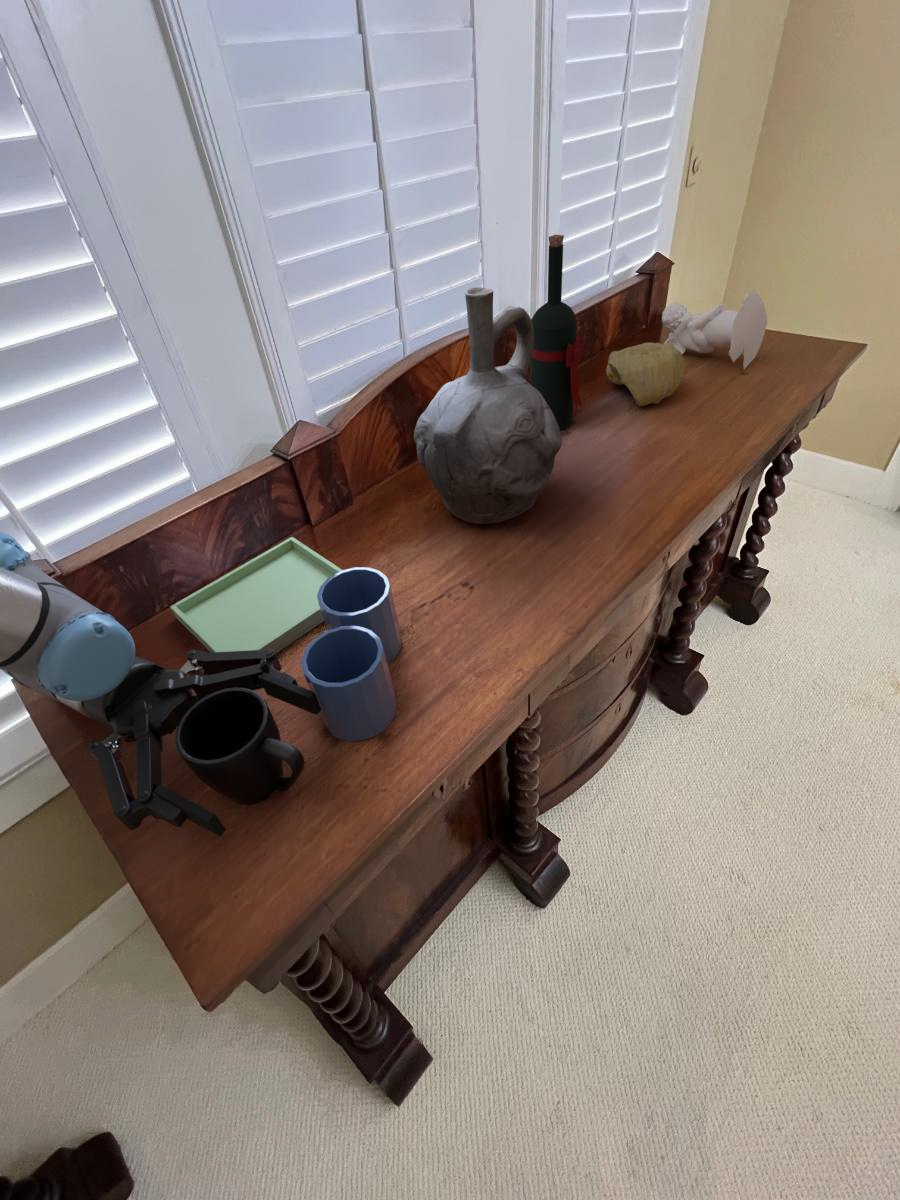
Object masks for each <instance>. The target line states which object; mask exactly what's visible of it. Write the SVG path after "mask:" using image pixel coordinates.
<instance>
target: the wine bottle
mask: <svg viewBox="0 0 900 1200" xmlns="http://www.w3.org/2000/svg"><path fill="white" fill-rule="evenodd" d="M564 238H565V235H564V234H553V235H550V236H548V244H549V245H548V258H547V259H548V261H547V264H548V265H547V267H548V268H547V270H548V271H547V302H546V303H544V304H542V305H541V306H540V307H539V308H538V309H536V311H535V312H534V314H533V316H532V318H531V321H532V324H533V329H534V348H533V353H532V358H531V361H530V373H529V374H530V379H529V382H530V383H529V384H530V385H532V386H533V387H534V388H535V389H537V390H538V391H539V392H540V393H541V395H542V396H543V398H544V399H545V401H546V403H547V404H548V406H549V407H550V409H551V411H552V413H553V415H554V417H555V419H556V421H557V424H558V426H559V429H560V432H561V431H564V430H567V429H570V427H571V426H572V425H573V422H574V421H573V420H574V419H573V417H574V408H575V410H576V411H578V405H579V406H581V407H583V404H582V400H581V395H580V393H579V370H578V363H579V362H580V363H581V361H582V357H583V343H584V342H583V337H580V338H577V335H578V334H577V332H578V320H577V317H576V316H577V315H576V314H575V312H574V310H573V308H572V307H571V306H570V305H568V304H567V303H565V302H563V301H562V294H563V293H562V291H563V268H564V267H563V266H564V265H563V264H564V244H563V243H564Z"/></svg>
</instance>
